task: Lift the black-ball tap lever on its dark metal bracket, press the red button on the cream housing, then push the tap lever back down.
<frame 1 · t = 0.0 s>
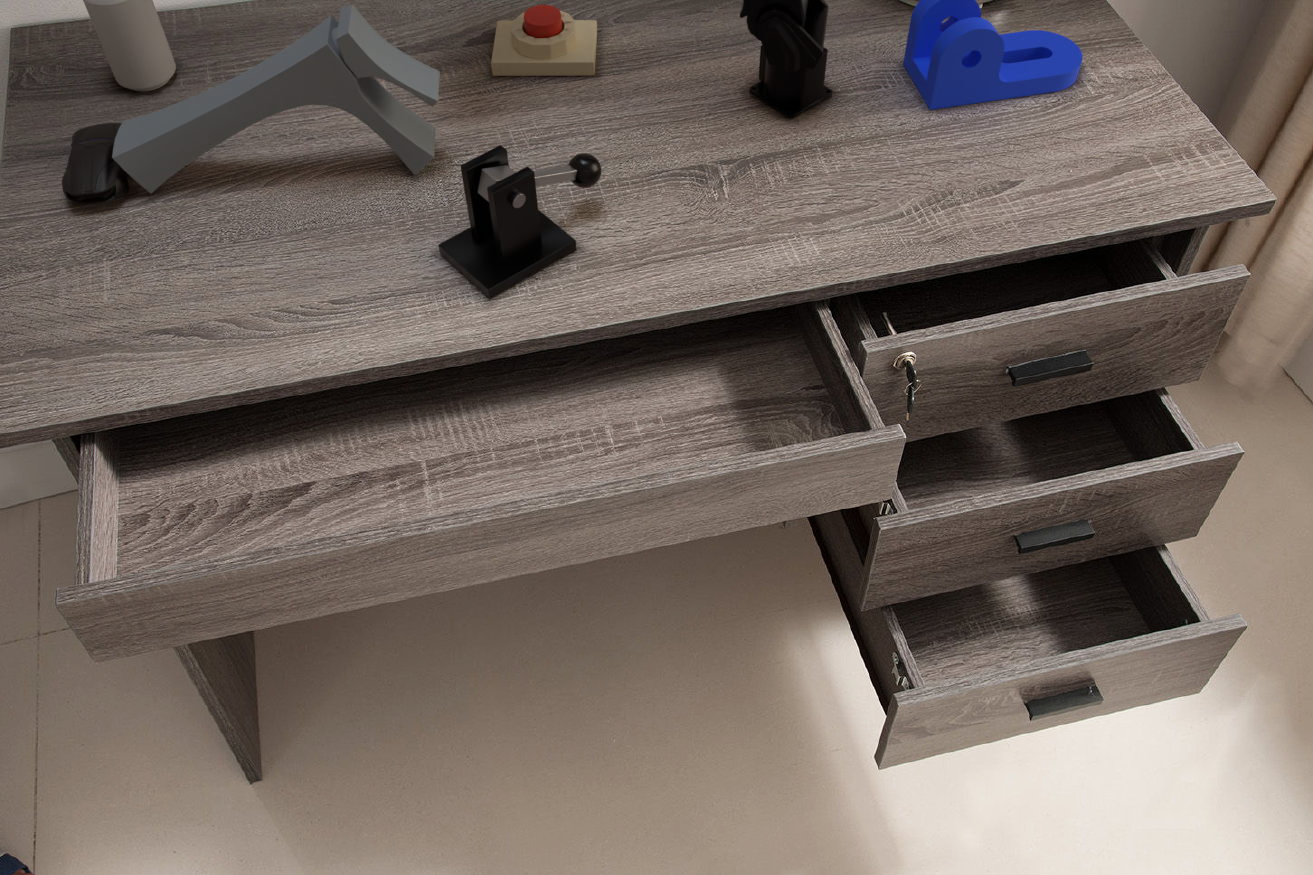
black computer mouse: (105, 176, 123), on the table
bracket: (995, 77, 132), on the table
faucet: (293, 170, 123), on the table
button: (543, 22, 132), point 4 cm above the table, slide at 0.1 cm
tap bracket: (508, 252, 115), on the table
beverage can: (148, 79, 133), on the table
tap lever: (543, 177, 112), point 6 cm above the table, hinge at -20.0°
button box: (545, 54, 135), on the table
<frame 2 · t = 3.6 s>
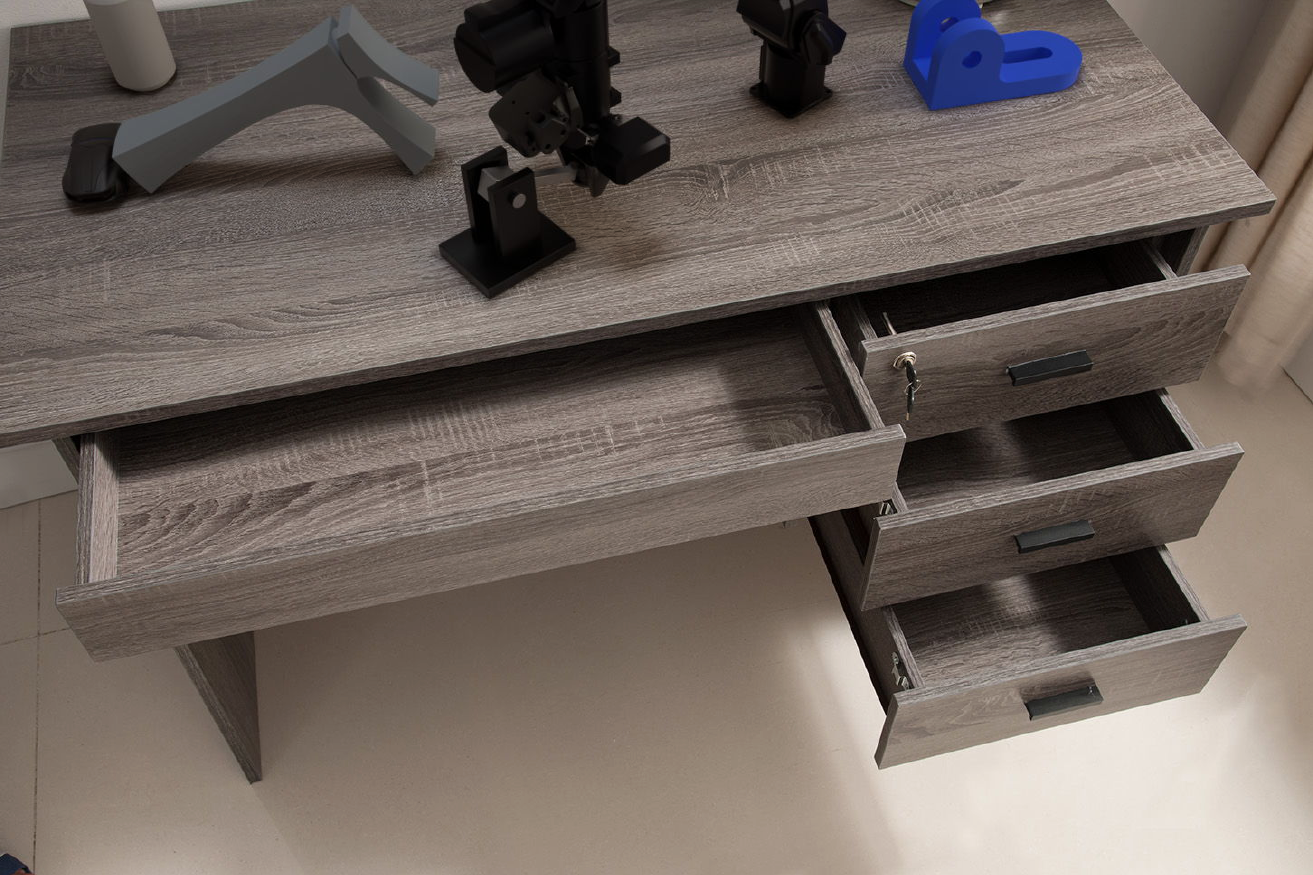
hand: (585, 186, 117), 3 cm above the table, tool pointing down, fingers closed on tap lever, 3 cm apart
tap lever: (543, 177, 112), point 6 cm above the table, hinge at -20.0°, touching gripper
everything else where it was.
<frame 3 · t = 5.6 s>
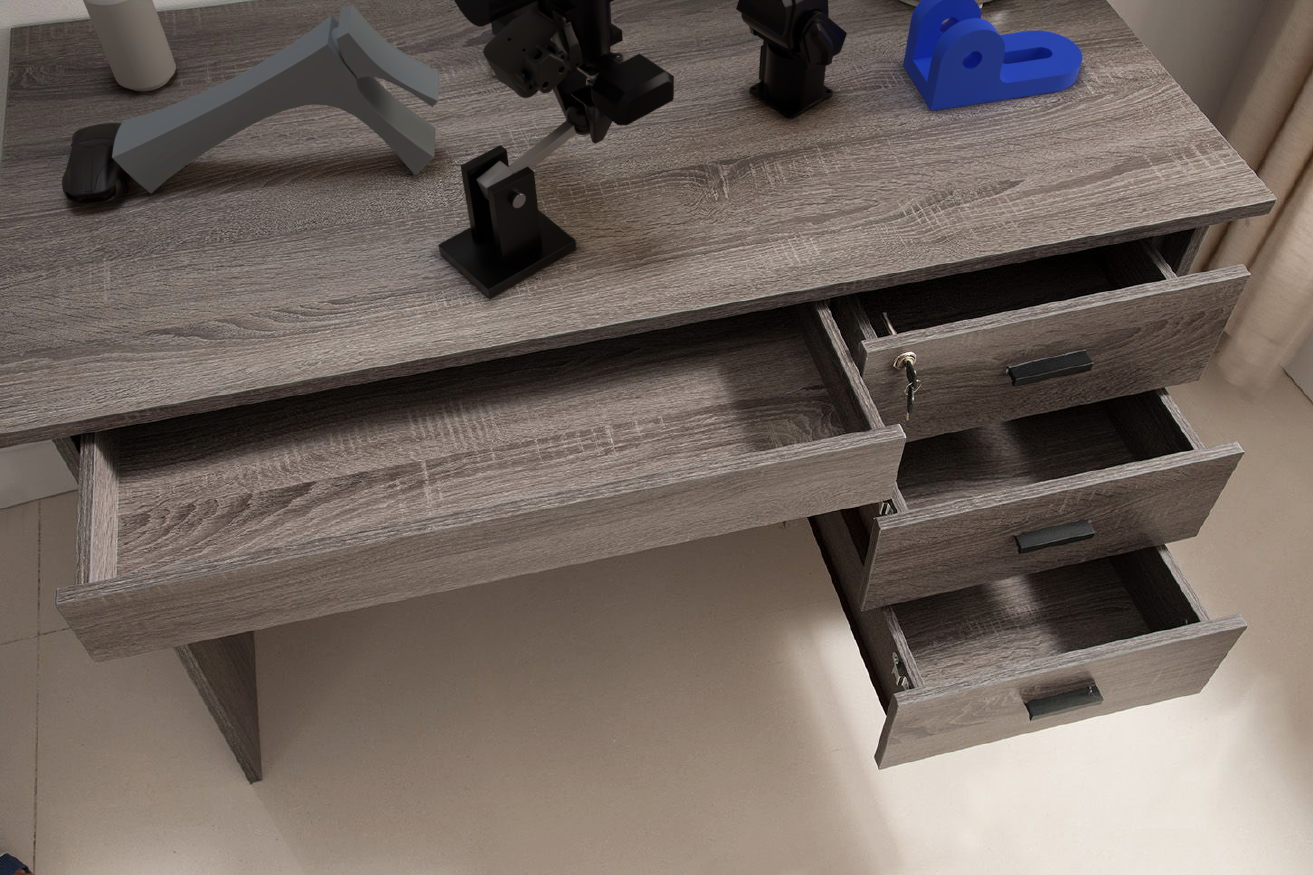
hand: (585, 132, 112), 9 cm above the table, tool pointing down, fingers closed on tap lever, 3 cm apart
tap lever: (542, 150, 110), point 9 cm above the table, hinge at 14.3°, touching gripper
everything else where it was.
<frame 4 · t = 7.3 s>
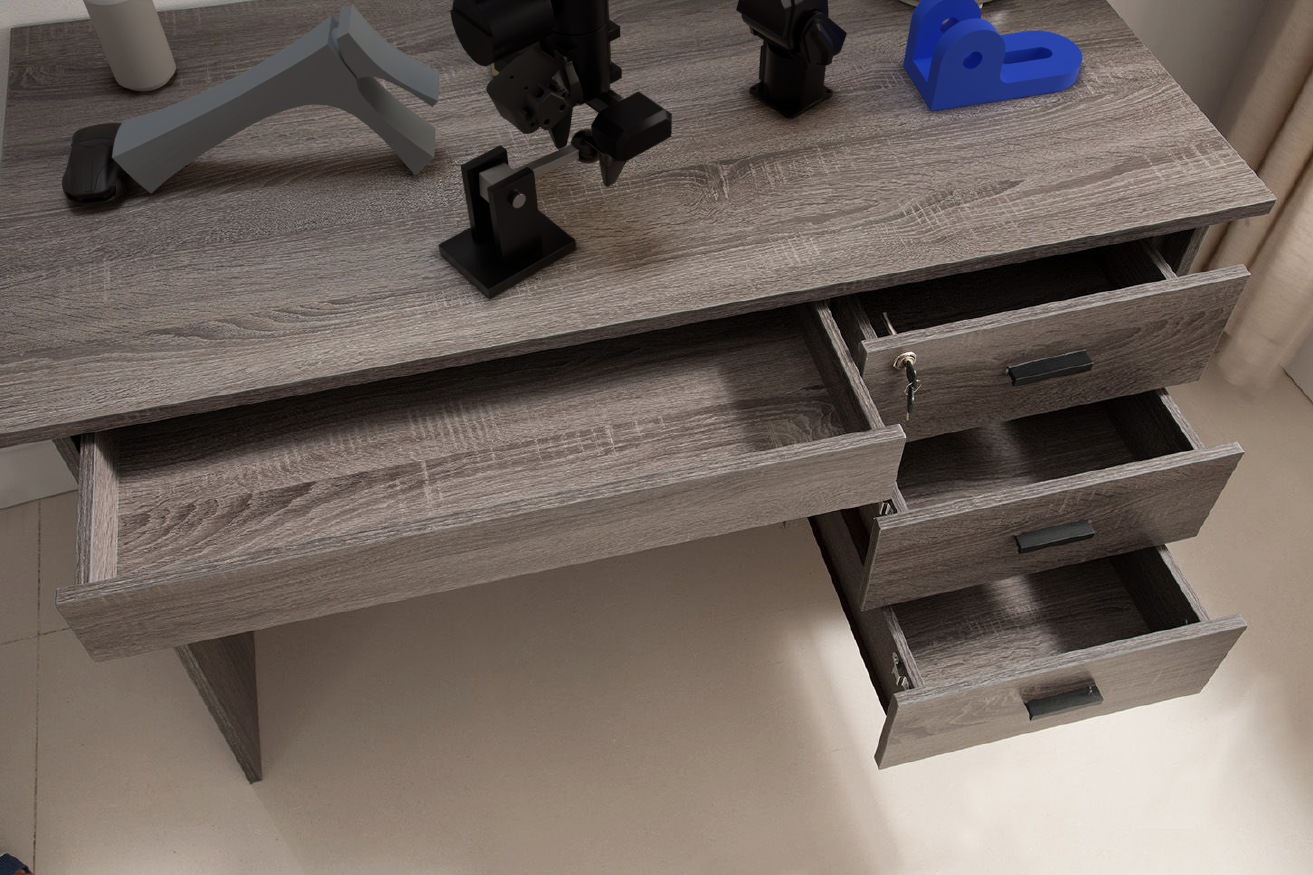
hand: (585, 165, 115), 5 cm above the table, tool pointing down, fingers open, 7 cm apart
tap lever: (545, 164, 111), point 8 cm above the table, hinge at -5.1°
everything else where it was.
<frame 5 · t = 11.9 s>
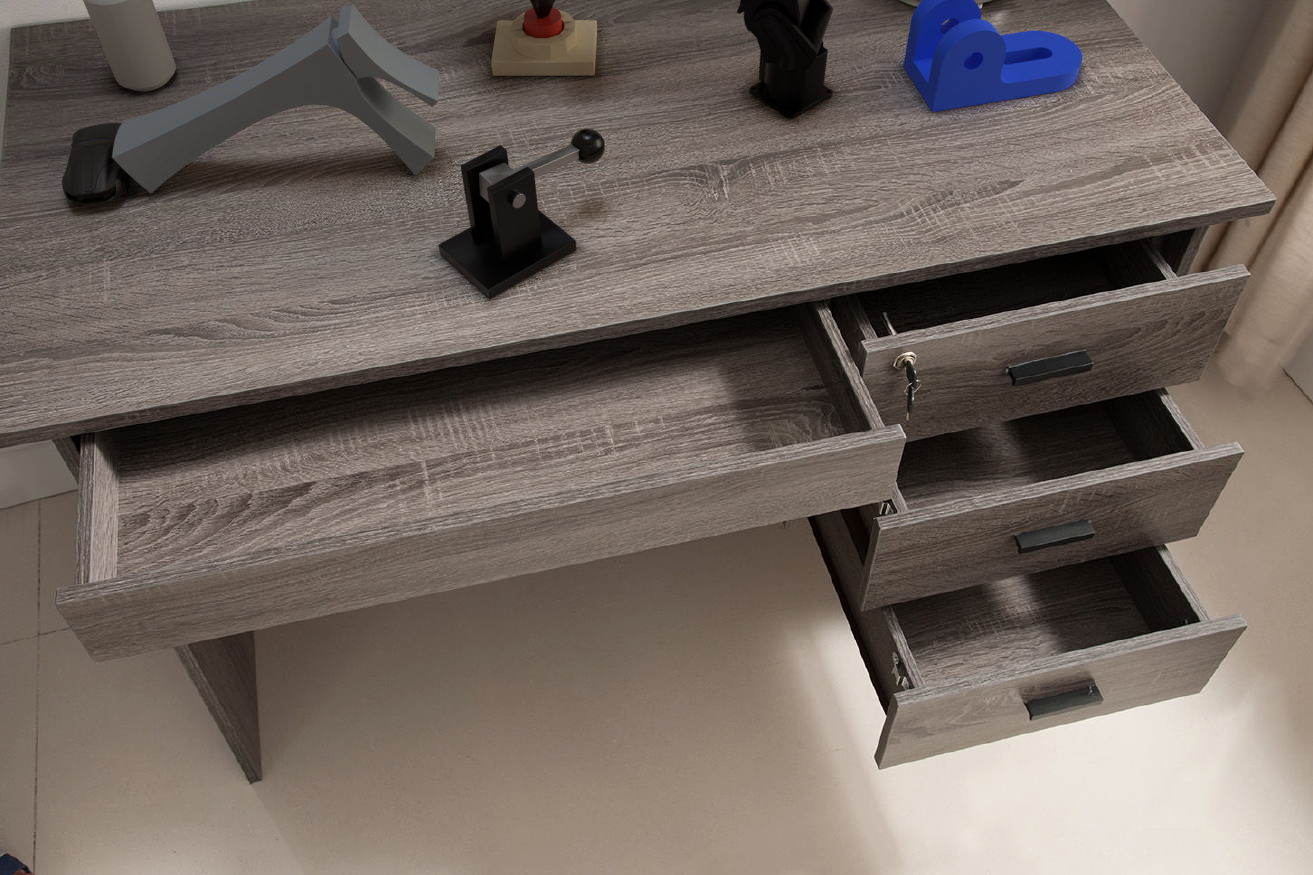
hand: (542, 16, 131), 5 cm above the table, tool pointing down, fingers closed, pressing on button
button: (543, 23, 132), point 4 cm above the table, slide at 0.0 cm, touching gripper
everything else where it was.
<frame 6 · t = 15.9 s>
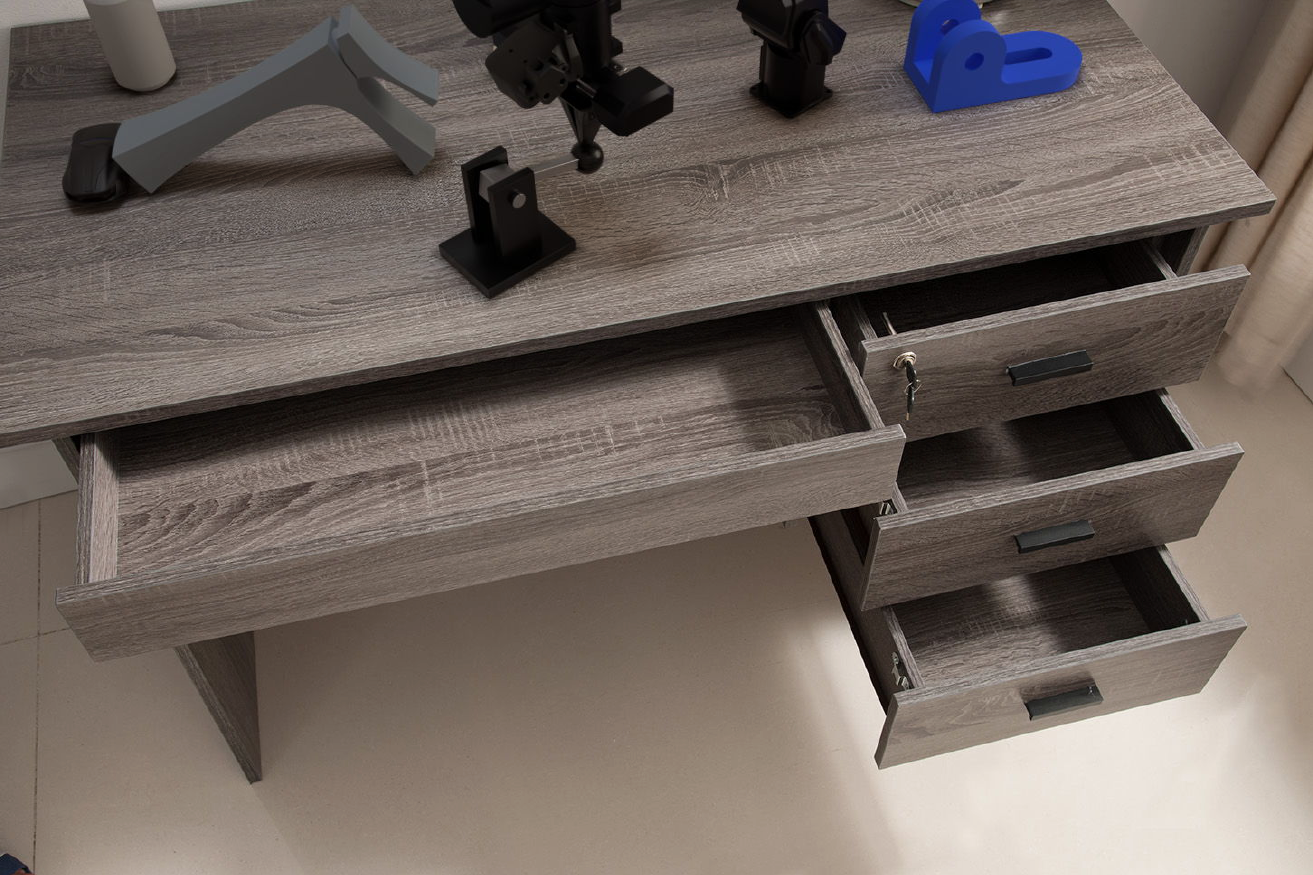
hand: (585, 143, 113), 8 cm above the table, tool pointing down, fingers closed, pressing on tap lever
button: (543, 22, 132), point 4 cm above the table, slide at 0.1 cm
tap lever: (545, 170, 112), point 7 cm above the table, hinge at -11.8°, touching gripper
everything else where it was.
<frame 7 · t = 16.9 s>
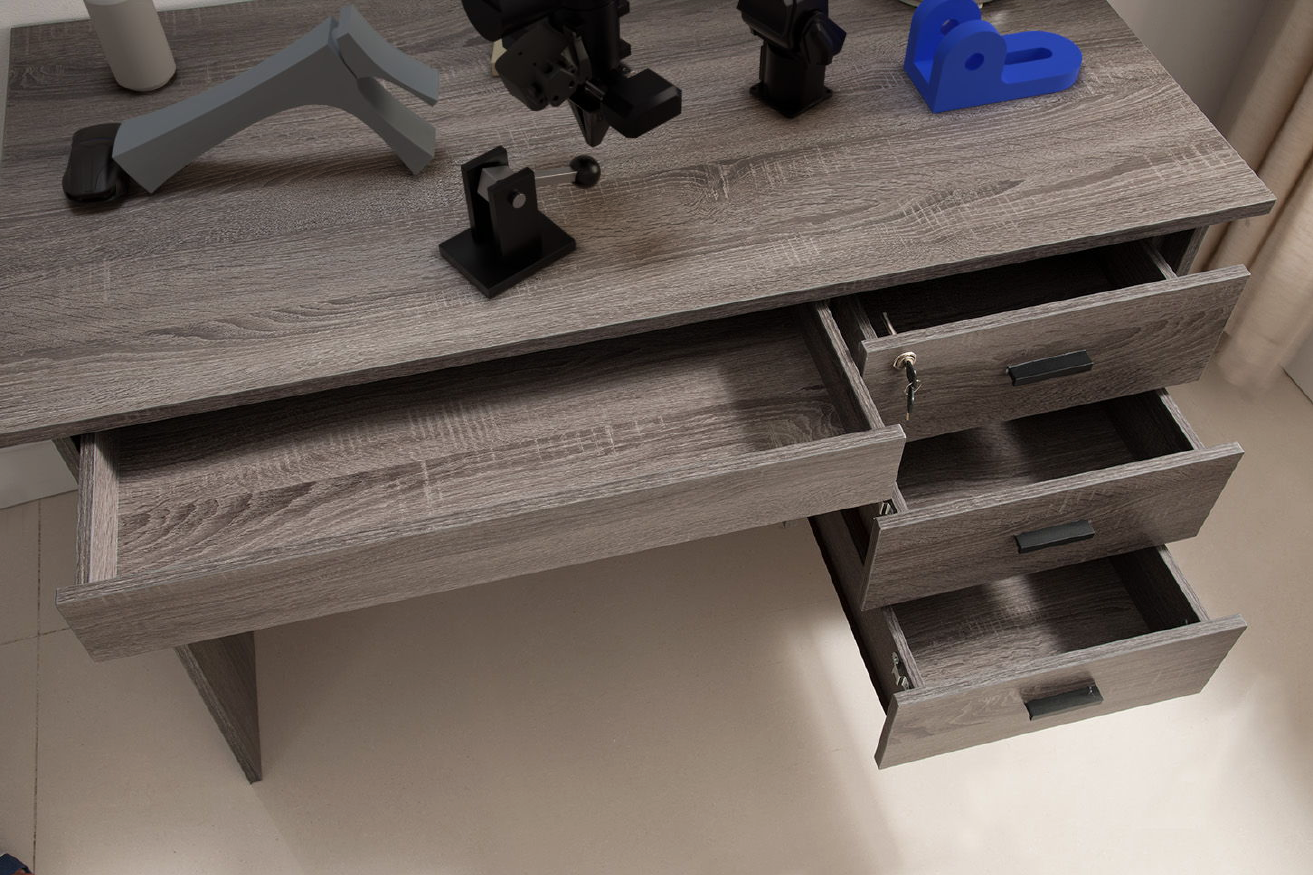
hand: (594, 144, 114), 7 cm above the table, tool pointing down, fingers closed
tap lever: (543, 178, 112), point 6 cm above the table, hinge at -20.9°
everything else where it was.
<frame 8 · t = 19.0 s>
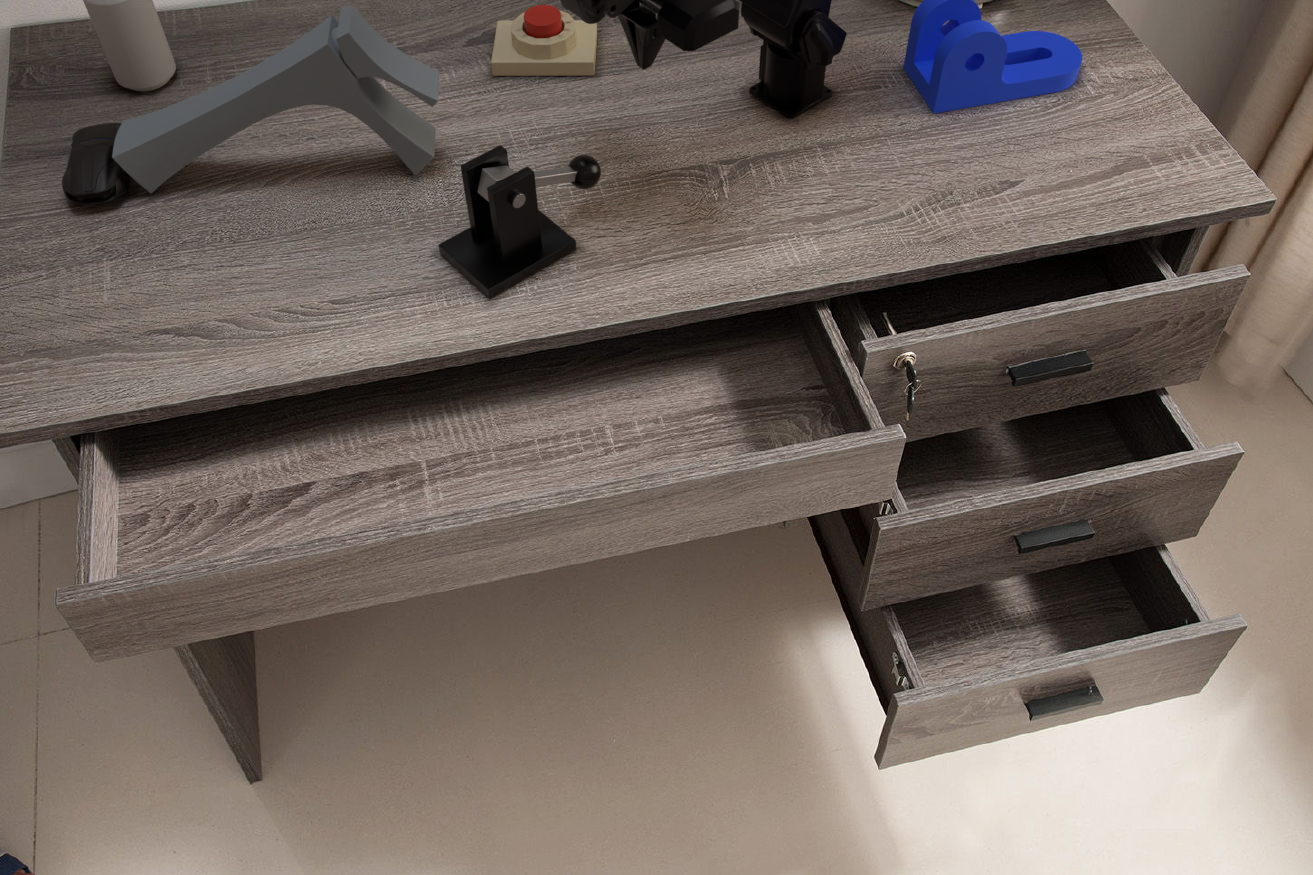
hand: (644, 66, 112), 12 cm above the table, tool pointing down, fingers closed
nothing on the table moved.
at the end: tap lever reached +15° during the clip, -21° at the end; button pushed in 1.1 cm at the most during the clip, back to where it started at the end; tap lever at -21° (first picture: -20°) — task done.
